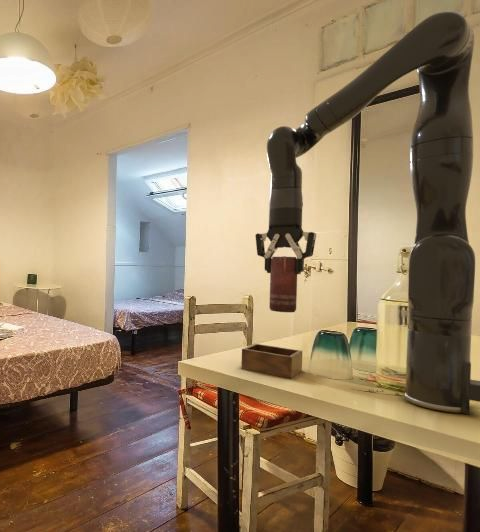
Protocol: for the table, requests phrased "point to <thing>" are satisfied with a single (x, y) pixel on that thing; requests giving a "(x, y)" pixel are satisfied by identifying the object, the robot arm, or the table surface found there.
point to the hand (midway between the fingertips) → (283, 273)
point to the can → (283, 284)
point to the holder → (272, 360)
